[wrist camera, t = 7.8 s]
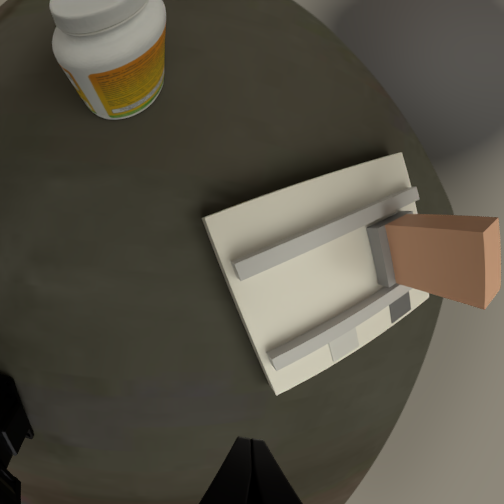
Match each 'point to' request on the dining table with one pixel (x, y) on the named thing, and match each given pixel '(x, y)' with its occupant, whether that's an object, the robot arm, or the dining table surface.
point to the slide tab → (439, 255)
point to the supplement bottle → (111, 52)
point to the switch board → (313, 267)
